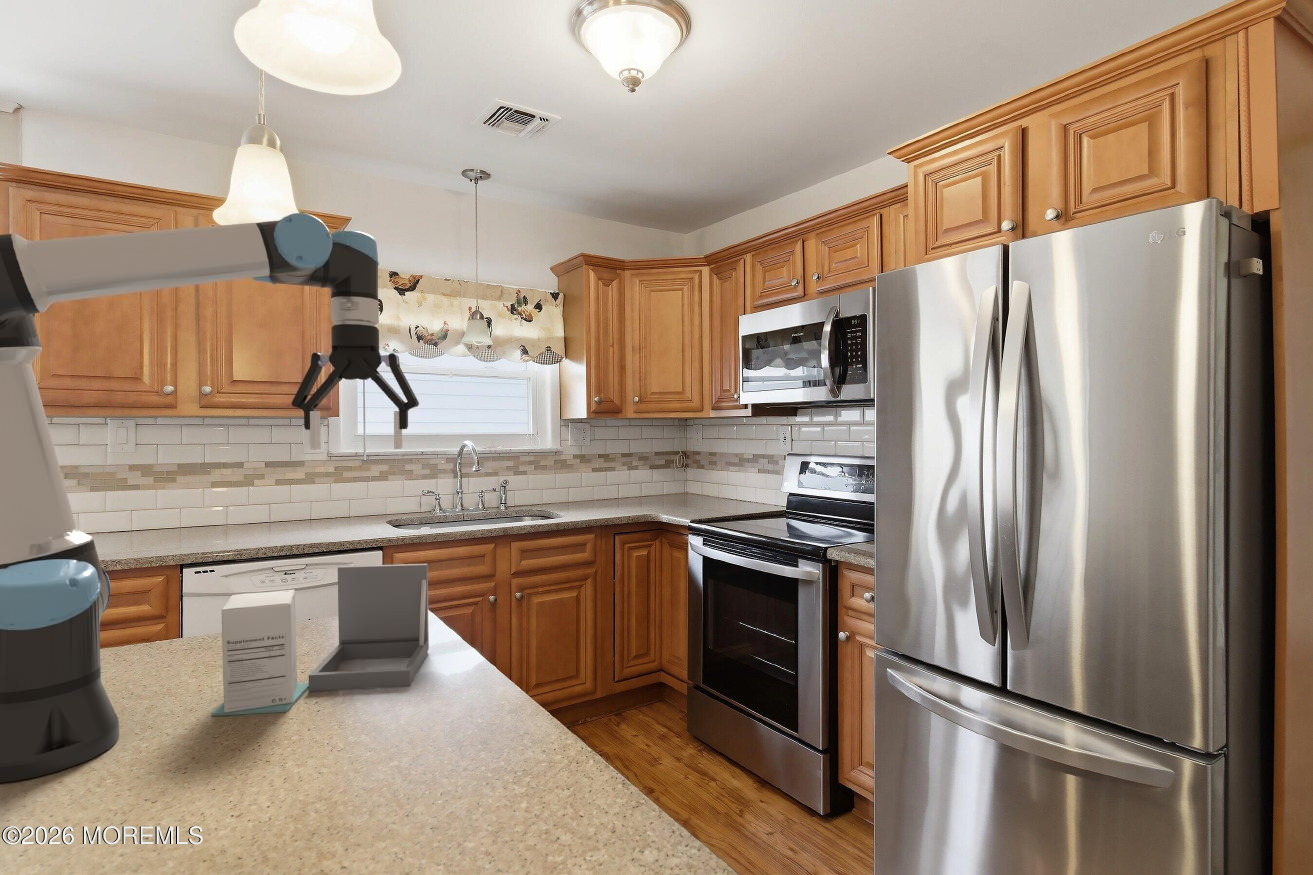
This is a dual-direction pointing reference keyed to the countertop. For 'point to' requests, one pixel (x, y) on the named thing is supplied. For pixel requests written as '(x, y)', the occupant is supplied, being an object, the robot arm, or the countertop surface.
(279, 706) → the mat
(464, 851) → the countertop surface
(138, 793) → the countertop surface
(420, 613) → the case
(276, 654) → the supplement box
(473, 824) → the countertop surface
